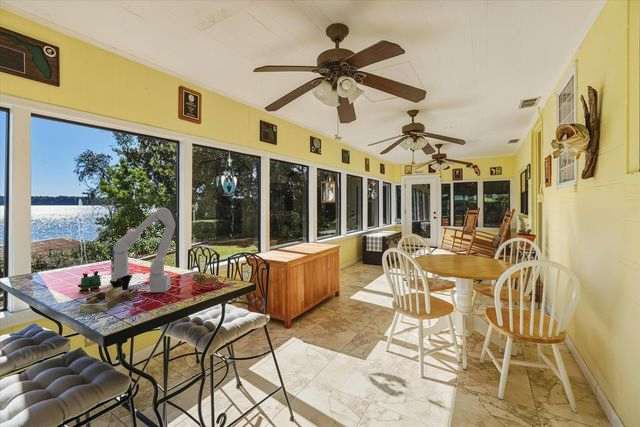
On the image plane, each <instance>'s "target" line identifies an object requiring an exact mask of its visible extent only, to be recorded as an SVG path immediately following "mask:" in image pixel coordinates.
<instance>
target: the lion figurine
mask: <svg viewBox="0 0 640 427" xmlns="http://www.w3.org/2000/svg"><path fill="white" fill-rule="evenodd" d="M192 281H193V282H194V283H196V284H197V285H200V287H201V289H204V284H205V285H207V284H210V283H212V286H211V288H212V287H213V288H215V289H216V288H218V289H219V287H221V286H222V285H221V284H220V282H219V278H218V277H217V276H214V275H213V276H212V275H211V276H205V275H204V274H201V273H199V272H195V273H194V274H193V276H192Z"/></svg>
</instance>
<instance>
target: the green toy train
mask: <svg viewBox="0 0 640 427" xmlns="http://www.w3.org/2000/svg"><path fill="white" fill-rule="evenodd" d="M88 275H89V273H84V272H83V273H82V276H83V277H81V279H80V284H78V285H77V288H79V291H78V292H79V293H82V294H83V295H87V294H90V293H91V292H90V291H93V292H96V293H98V292H101V288H100V287H101V286H102V281H101V275H100V274H99V271H98V270H96V271H94V272H93V275H91V276H88Z"/></svg>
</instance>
